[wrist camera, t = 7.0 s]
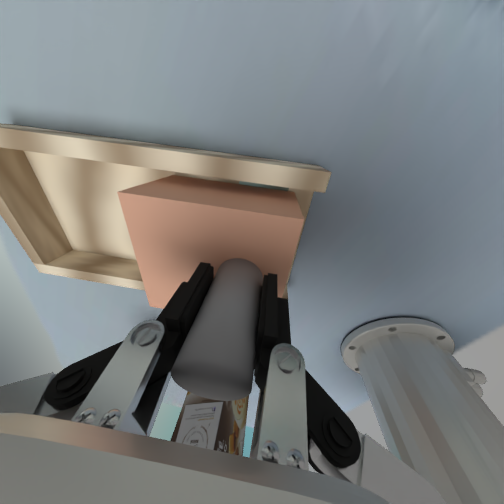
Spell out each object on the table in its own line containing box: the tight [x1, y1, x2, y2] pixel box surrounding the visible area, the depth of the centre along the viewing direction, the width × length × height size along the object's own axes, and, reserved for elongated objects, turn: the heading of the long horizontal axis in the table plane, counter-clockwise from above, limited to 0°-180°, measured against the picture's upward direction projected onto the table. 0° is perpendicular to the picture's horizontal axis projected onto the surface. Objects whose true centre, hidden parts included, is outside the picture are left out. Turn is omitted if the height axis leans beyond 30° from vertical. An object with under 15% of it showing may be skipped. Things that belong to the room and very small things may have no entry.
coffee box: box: [171, 391, 249, 456], centre depth 25 cm, size 9×6×16 cm
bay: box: [0, 124, 331, 299], centre depth 16 cm, size 26×13×4 cm, turn 84°
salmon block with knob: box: [117, 175, 304, 401], centre depth 12 cm, size 10×9×12 cm
